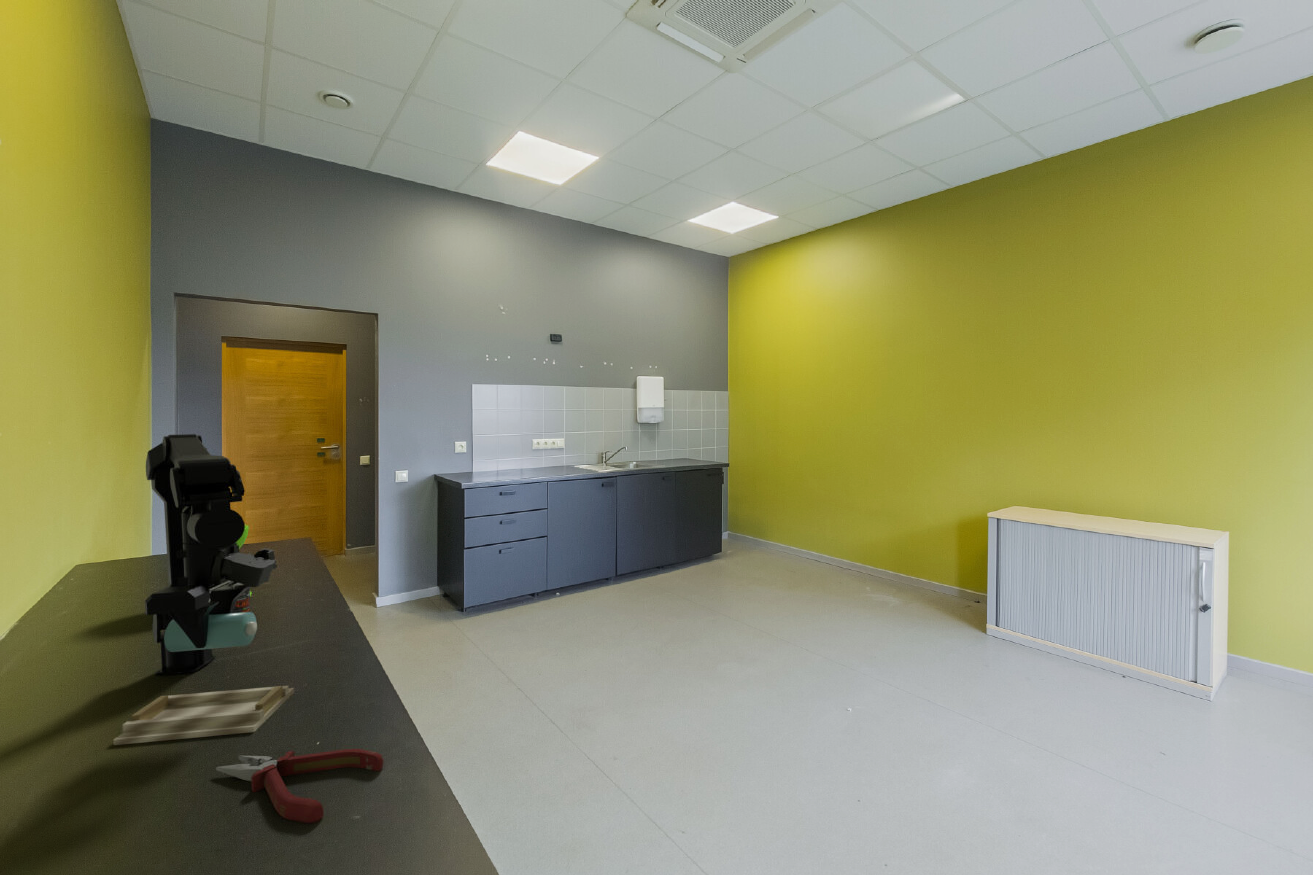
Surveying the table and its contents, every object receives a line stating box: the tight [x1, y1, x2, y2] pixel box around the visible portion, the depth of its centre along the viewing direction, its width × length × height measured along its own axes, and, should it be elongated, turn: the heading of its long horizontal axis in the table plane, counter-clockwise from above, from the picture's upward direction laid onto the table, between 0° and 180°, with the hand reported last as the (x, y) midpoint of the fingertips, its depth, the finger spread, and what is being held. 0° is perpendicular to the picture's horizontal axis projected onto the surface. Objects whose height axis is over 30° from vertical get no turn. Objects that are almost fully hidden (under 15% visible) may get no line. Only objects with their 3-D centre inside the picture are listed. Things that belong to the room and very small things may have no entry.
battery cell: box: [164, 611, 258, 652], centre depth 87 cm, size 11×5×5 cm, turn 99°
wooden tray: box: [113, 685, 295, 746], centre depth 87 cm, size 18×12×3 cm, turn 99°
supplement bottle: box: [233, 584, 252, 613], centre depth 129 cm, size 6×6×11 cm
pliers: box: [215, 748, 384, 824], centre depth 71 cm, size 12×20×3 cm, turn 74°
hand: (212, 641), depth 87 cm, fingers closed on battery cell, 5 cm apart
